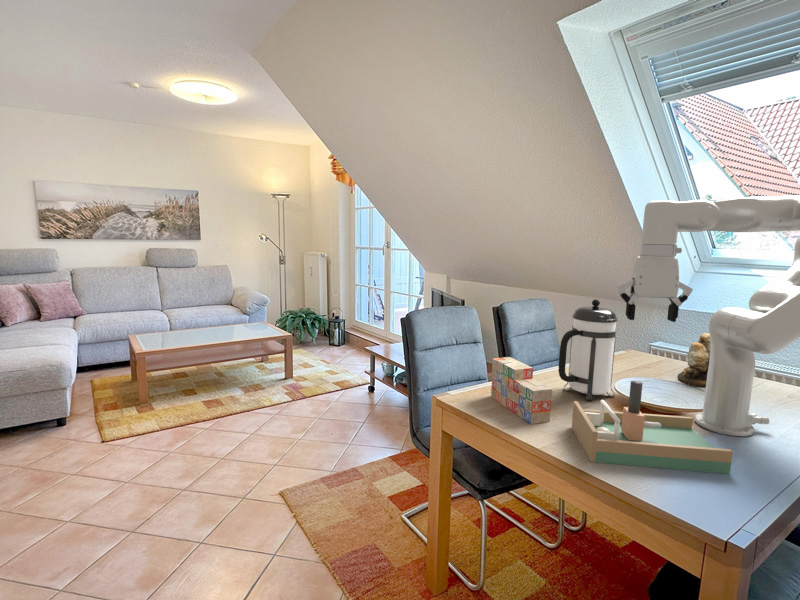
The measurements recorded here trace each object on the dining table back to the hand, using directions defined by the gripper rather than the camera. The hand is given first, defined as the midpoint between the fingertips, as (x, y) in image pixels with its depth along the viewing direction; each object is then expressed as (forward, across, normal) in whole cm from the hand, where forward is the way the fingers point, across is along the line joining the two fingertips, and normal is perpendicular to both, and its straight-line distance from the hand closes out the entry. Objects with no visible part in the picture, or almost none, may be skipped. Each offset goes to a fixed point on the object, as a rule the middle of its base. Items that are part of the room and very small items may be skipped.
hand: (650, 320), depth 112 cm
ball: (+26, +13, +13) cm, 32 cm away
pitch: (+28, +4, +13) cm, 31 cm away
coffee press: (+28, +8, -22) cm, 37 cm away
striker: (+26, +4, +13) cm, 29 cm away
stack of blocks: (+29, +30, -7) cm, 42 cm away
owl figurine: (+29, -35, -45) cm, 64 cm away
